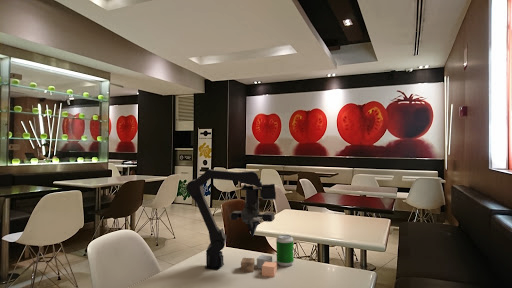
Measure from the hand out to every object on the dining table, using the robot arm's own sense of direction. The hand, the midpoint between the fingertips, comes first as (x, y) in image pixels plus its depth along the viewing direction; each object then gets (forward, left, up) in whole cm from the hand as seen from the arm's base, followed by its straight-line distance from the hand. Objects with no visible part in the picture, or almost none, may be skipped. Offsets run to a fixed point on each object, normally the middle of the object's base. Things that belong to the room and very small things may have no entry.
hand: (252, 235), depth 132 cm
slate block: (+5, +1, -13) cm, 14 cm away
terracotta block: (+9, -6, -13) cm, 17 cm away
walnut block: (-1, -4, -13) cm, 14 cm away
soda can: (+13, +6, -13) cm, 19 cm away
